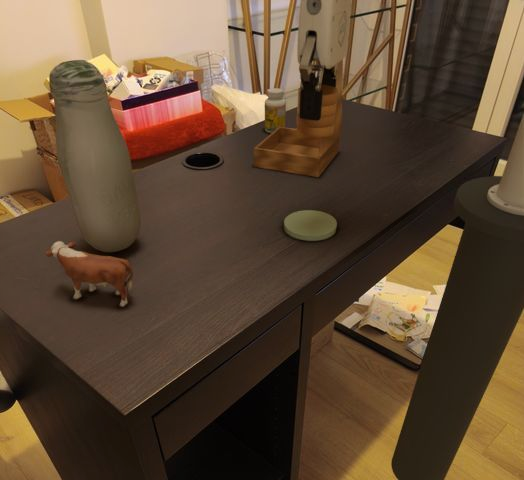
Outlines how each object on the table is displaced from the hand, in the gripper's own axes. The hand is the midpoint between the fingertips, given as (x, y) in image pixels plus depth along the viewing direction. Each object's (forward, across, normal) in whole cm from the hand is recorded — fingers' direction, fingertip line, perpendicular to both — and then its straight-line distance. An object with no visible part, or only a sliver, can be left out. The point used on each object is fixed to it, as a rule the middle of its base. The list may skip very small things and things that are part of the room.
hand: (317, 111), depth 74 cm
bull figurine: (+20, -32, +23) cm, 44 cm away
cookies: (+3, 0, 0) cm, 3 cm away
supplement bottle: (+20, +45, +25) cm, 55 cm away
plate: (+20, 0, 0) cm, 20 cm away
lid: (+7, +29, +6) cm, 31 cm away
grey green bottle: (+20, -19, +29) cm, 40 cm away
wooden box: (+20, +29, +13) cm, 37 cm away
